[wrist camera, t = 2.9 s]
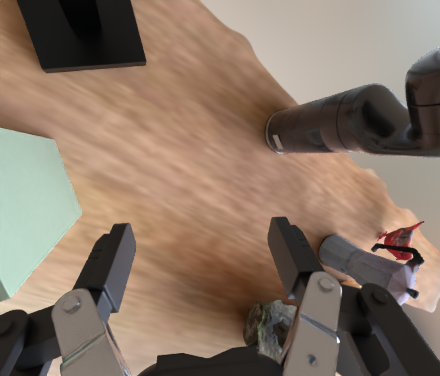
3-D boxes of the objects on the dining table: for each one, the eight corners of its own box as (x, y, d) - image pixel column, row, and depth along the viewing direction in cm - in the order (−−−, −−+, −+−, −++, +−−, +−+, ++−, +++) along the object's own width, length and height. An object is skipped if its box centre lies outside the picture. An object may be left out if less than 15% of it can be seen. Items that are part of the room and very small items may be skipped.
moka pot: (306, 263, 56) (392, 316, 37) (336, 216, 58) (431, 243, 39) (325, 278, 59) (411, 333, 41) (353, 233, 61) (447, 266, 43)
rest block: (82, 213, 34) (11, 298, 14) (30, 228, 32) (-150, 357, 11) (54, 139, 32) (-89, 107, 11) (-5, 149, 29) (-327, 132, 9)
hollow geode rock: (224, 291, 52) (215, 369, 41) (264, 277, 45) (266, 367, 34) (293, 328, 63) (301, 399, 51) (335, 322, 56) (354, 402, 44)
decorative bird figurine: (366, 245, 65) (404, 259, 55) (399, 212, 69) (440, 221, 60) (368, 252, 65) (406, 267, 56) (401, 219, 70) (442, 228, 61)
